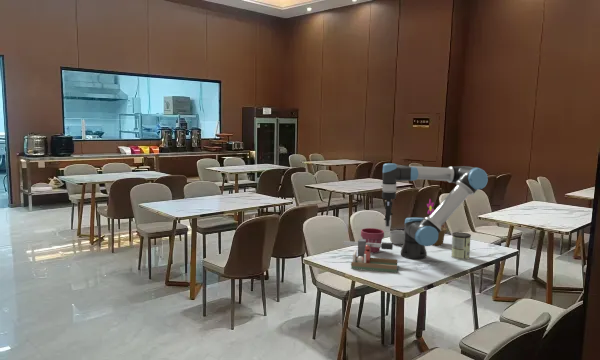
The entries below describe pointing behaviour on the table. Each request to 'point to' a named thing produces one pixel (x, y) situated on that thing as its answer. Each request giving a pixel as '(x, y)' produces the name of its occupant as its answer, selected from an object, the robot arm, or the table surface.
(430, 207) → the flowerpot
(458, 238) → the coffee can
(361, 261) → the ball
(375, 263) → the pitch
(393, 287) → the table surface
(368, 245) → the slider
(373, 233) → the plant pot
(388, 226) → the robot arm
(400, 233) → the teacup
